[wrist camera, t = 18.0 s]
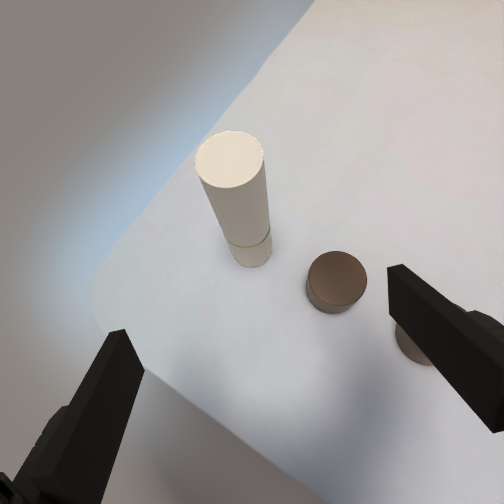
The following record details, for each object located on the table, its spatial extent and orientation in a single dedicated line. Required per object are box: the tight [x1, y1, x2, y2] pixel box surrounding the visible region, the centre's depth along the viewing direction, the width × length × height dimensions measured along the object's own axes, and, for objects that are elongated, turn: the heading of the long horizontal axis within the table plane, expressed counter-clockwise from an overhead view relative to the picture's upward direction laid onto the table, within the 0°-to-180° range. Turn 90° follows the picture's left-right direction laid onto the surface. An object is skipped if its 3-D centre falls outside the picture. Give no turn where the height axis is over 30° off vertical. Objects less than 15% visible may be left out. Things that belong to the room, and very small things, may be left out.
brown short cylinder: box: [396, 303, 467, 365], centre depth 26 cm, size 5×5×4 cm
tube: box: [195, 131, 272, 268], centre depth 26 cm, size 4×4×15 cm
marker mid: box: [306, 251, 367, 314], centre depth 28 cm, size 5×5×4 cm
